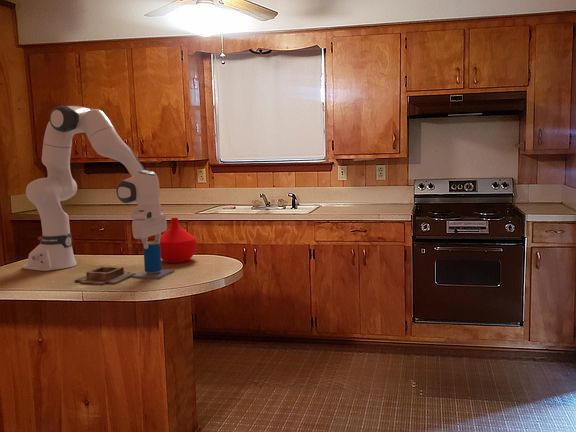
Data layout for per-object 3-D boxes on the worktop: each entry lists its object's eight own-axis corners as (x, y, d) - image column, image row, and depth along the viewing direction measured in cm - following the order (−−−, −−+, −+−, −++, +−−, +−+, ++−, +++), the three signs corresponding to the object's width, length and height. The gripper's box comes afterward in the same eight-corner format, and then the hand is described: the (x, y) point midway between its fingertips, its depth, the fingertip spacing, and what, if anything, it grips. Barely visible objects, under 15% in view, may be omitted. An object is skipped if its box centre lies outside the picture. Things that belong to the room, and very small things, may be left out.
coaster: (132, 277, 222) (132, 275, 222) (148, 270, 233) (148, 268, 233) (159, 279, 218) (159, 277, 218) (174, 271, 229) (174, 269, 229)
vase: (148, 265, 243) (145, 221, 240) (166, 255, 261) (164, 215, 258) (188, 266, 239) (185, 221, 236) (203, 256, 257) (201, 215, 254)
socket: (71, 283, 216) (70, 274, 215) (100, 272, 233) (99, 263, 232) (112, 285, 211) (111, 276, 210) (138, 273, 228) (137, 265, 227)
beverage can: (145, 270, 228) (144, 241, 227) (162, 269, 229) (160, 240, 227) (143, 274, 222) (142, 244, 220) (160, 273, 223) (159, 244, 221)
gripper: (156, 208, 233) (158, 241, 235) (128, 215, 213) (130, 251, 215) (169, 208, 231) (171, 241, 233) (142, 215, 212) (145, 251, 213)
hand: (151, 246), depth 224 cm, fingers closed on beverage can, 6 cm apart
